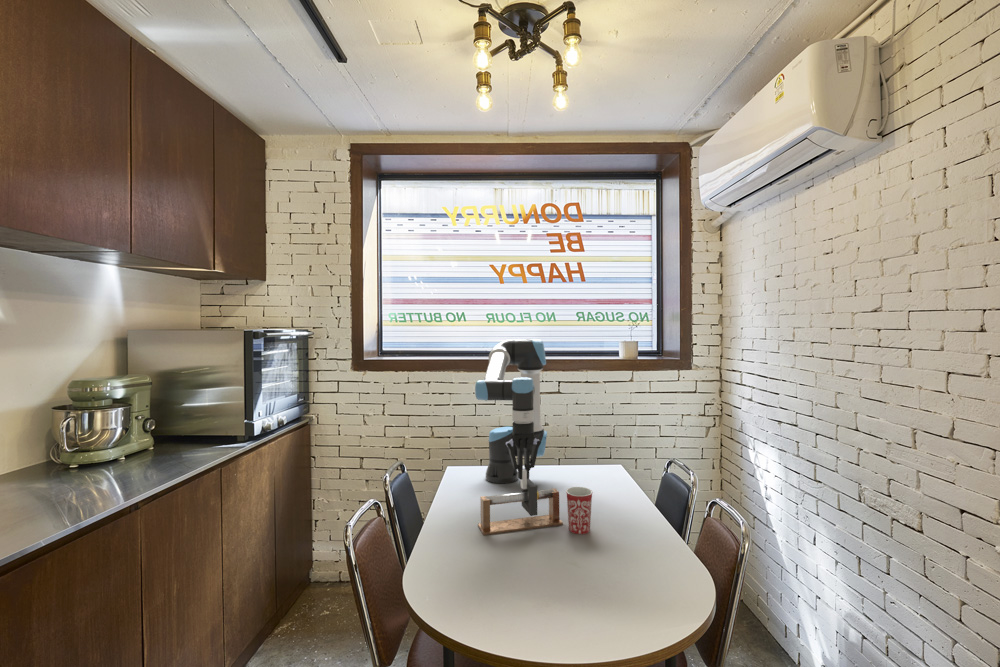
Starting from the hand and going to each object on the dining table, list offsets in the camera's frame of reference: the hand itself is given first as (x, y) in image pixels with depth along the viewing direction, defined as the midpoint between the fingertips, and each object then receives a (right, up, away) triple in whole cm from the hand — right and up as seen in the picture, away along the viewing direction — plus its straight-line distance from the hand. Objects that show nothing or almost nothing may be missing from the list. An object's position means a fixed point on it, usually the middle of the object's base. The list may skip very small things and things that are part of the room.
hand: (523, 487), depth 169 cm
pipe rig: (-1, -13, 0) cm, 13 cm away
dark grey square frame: (+2, -8, +1) cm, 8 cm away
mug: (+19, -13, -3) cm, 24 cm away
